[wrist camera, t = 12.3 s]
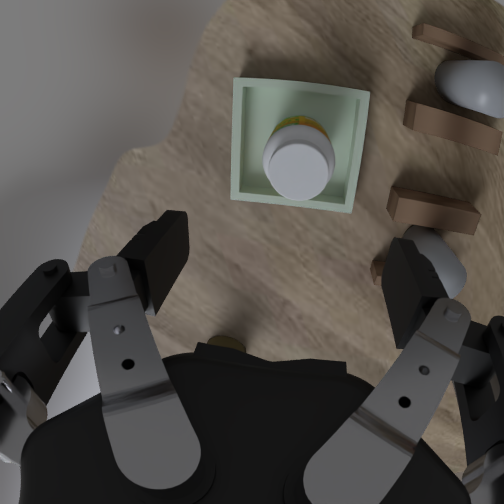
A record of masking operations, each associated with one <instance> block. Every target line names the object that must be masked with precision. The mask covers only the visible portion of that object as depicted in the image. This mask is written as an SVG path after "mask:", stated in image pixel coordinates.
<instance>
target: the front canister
mask: <svg viewBox="0 0 504 504" xmlns="http://www.w3.org/2000/svg"><path fill="white" fill-rule="evenodd" d="M435 85H436V88H437V91H438V93H439V94H440V96H441V97H442V98H443V99H444V100H446V101H447V102H449V103H451V104H454V105H458V106H461V107H465V108H468V109H471V110H474V111H477V112H481V113H484V114H487V115H489V116H492V117H495V118H504V65H502V64H501V63H499V62H496V61H482V60H449V61H444V62H442V63H441V64H440V65H439V66H438V67H437V69H436V72H435Z"/></svg>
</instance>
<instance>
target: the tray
mask: <svg viewBox="0 0 504 504" xmlns="http://www.w3.org/2000/svg"><path fill="white" fill-rule="evenodd" d="M369 99H370V92H368V91H364V90H358V89H353V88H347V87H340V86H334V85H327V84H319V83H311V82H302V81H291V80H279V79H264V78H234V83H233V113H232V151H231V200H242V201H252V202H262V203H271V204H280V205H289V206H298V207H306V208H314V209H322V210H330V211H337V212H345V213H352V208H353V203H354V197H355V192H356V187H357V181H358V175H359V169H360V163H361V157H362V151H363V144H364V137H365V130H366V123H367V115H368V107H369ZM295 115H303V116H308V117H311V118H313V119H315V120H316V121H318V122H319V123H320V124H321V125H322V126H323V128H324V129H325V130H326V132H327V134H328V137H329V139H330V142H331V144H332V147H333V149H334V153H335V169H334V172H333V175H332V177H331V179H330V180H329V182H328V183H327V184H326V186H325V188H324V189H323V190H322V192H321V193H319V194H318V195H317V196H315V197H313V198H311V199H308V200H303V201H296V200H291V199H288V198H285V197H283V196H282V195H280V194H279V193H278V192H277V191H276V190H275V189H274V188H273V186H272V184H271V182H270V180H269V179H268V178H267V176H266V174H265V171H264V168H263V162H262V156H263V151H264V148H265V145H266V143H267V141H268V139H269V137H270V136H271V134H272V132H273V130H274V129H275V127H276V126H277V125H278V124H279V123H280V122H281V121H282V120H284V119H285V118H288V117H290V116H295Z"/></svg>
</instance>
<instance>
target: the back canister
mask: <svg viewBox="0 0 504 504" xmlns="http://www.w3.org/2000/svg"><path fill="white" fill-rule="evenodd" d="M403 239H410V240H413V241H414V243H415V245H416V247H417V249H418V250H419V252H420V254H423V255H425V256H426V257H427V258H428V259H429V260H430V261H431V262H432V264H433V266H434V268H435V270H436V272H437V274H438V276H439V279H440V280H441V282H442V284H443V286H444V288H445V290H446V292H447V294H448V296H449V298H451V299H452V298H454V297H455V296H456V295H457V294H458V293H459V292H460V291H461V290H462V288H463V287H464V285H465V282H466V277H467V273H466V270H465V268H464V266H463V265H462V263H461V262H460V261H459V259H458V258H457V257H456V255H455V254H454V253H453V252H452V250H451V249H450V248H449V246H448V245H447V244H446V243H445V241H444V240H443V239H442V238H441V236H440V235H439V234H438V233H437V231H436V230H435V229H434V228H431V227H425V226H419V225H413V226H412V227H410V228H409V229H408V230H407V231H406V232H405V234H404V236H403Z"/></svg>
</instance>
